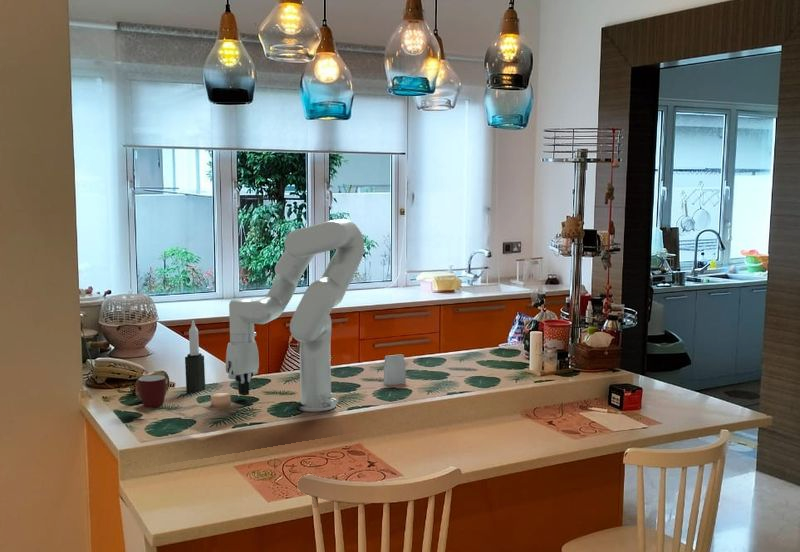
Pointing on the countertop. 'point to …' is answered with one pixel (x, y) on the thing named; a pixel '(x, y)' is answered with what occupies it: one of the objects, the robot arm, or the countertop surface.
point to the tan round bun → (221, 400)
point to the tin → (150, 375)
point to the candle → (194, 364)
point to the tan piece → (208, 405)
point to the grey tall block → (394, 370)
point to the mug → (152, 390)
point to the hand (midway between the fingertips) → (243, 394)
